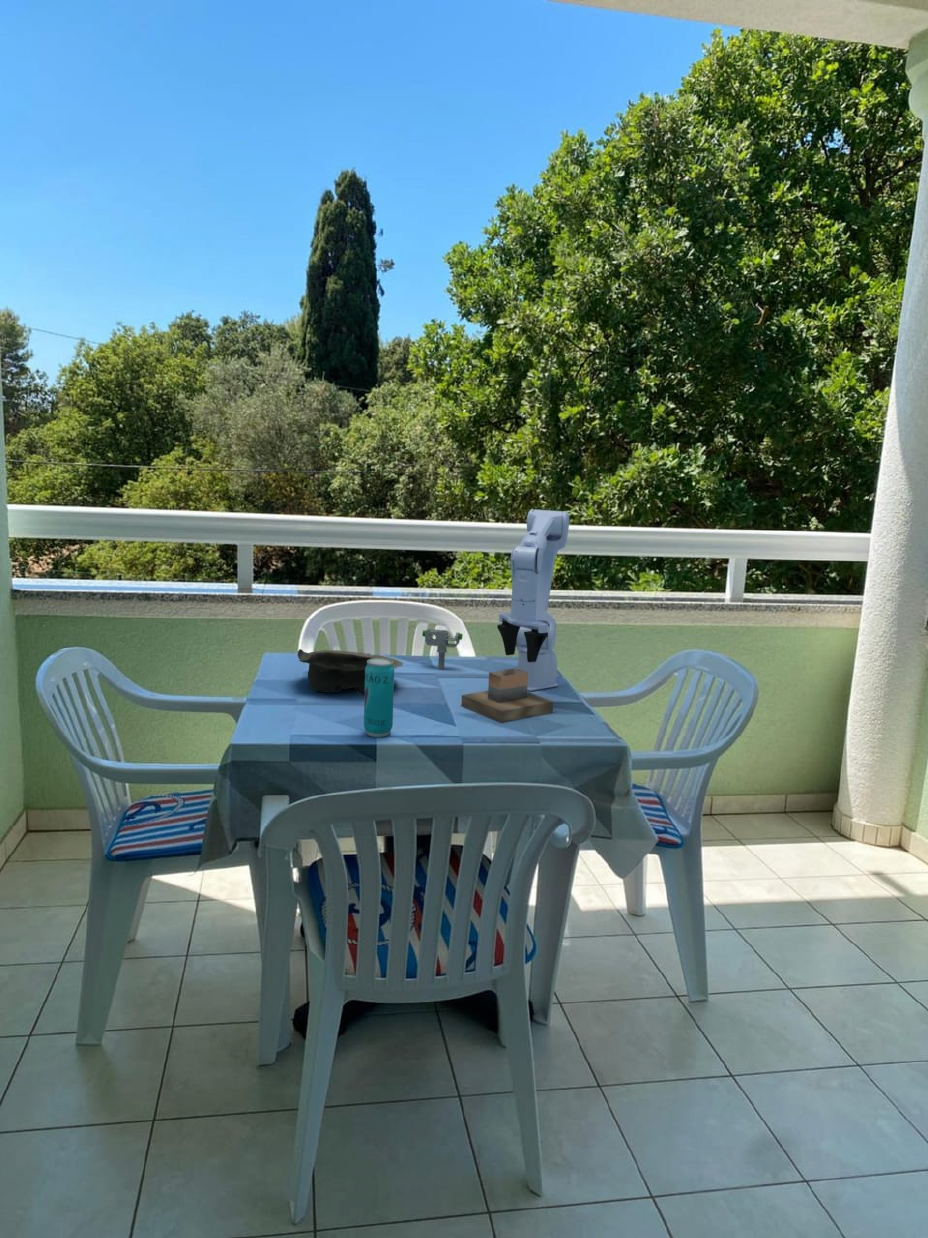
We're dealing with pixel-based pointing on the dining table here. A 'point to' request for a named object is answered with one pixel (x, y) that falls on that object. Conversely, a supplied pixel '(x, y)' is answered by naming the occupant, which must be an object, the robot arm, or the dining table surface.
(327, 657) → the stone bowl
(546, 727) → the dining table surface
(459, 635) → the mechanical component
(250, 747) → the dining table surface
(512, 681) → the brown rectangular block
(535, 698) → the walnut stand
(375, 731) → the beverage can
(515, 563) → the robot arm
